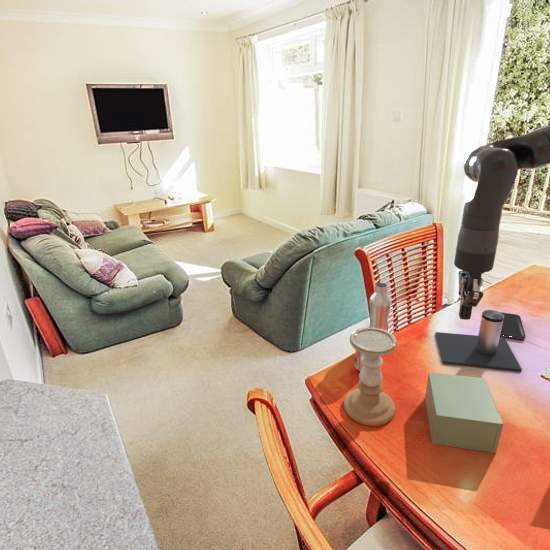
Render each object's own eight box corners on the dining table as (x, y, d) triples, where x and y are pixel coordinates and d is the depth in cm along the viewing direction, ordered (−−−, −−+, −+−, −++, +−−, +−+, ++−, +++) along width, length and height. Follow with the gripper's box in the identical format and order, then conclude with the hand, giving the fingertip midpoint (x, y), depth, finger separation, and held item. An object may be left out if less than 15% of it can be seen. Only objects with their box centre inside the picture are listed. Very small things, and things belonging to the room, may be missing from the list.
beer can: (356, 361, 110) (357, 326, 105) (372, 364, 108) (375, 328, 104) (353, 371, 106) (354, 335, 101) (370, 374, 104) (372, 337, 100)
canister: (493, 345, 112) (501, 310, 108) (498, 356, 108) (506, 320, 103) (473, 343, 114) (480, 309, 109) (477, 354, 109) (484, 318, 104)
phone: (519, 314, 127) (526, 337, 115) (519, 317, 128) (525, 340, 115) (493, 311, 130) (496, 332, 118) (492, 314, 131) (496, 335, 118)
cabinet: (425, 398, 95) (428, 372, 92) (479, 405, 92) (485, 378, 88) (432, 443, 82) (436, 415, 79) (496, 453, 79) (503, 424, 76)
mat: (504, 339, 116) (504, 337, 116) (521, 371, 102) (522, 369, 102) (435, 334, 121) (435, 331, 121) (442, 363, 107) (442, 361, 107)
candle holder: (405, 412, 91) (413, 342, 83) (368, 435, 85) (373, 361, 77) (369, 384, 100) (373, 319, 92) (333, 403, 95) (334, 335, 87)
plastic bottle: (378, 350, 114) (383, 291, 107) (362, 340, 120) (365, 284, 112) (393, 343, 118) (398, 285, 110) (376, 334, 123) (380, 278, 115)
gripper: (505, 258, 72) (489, 334, 79) (488, 237, 84) (475, 305, 91) (463, 256, 74) (451, 331, 81) (451, 236, 86) (442, 303, 92)
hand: (464, 317), depth 86 cm, fingers closed
